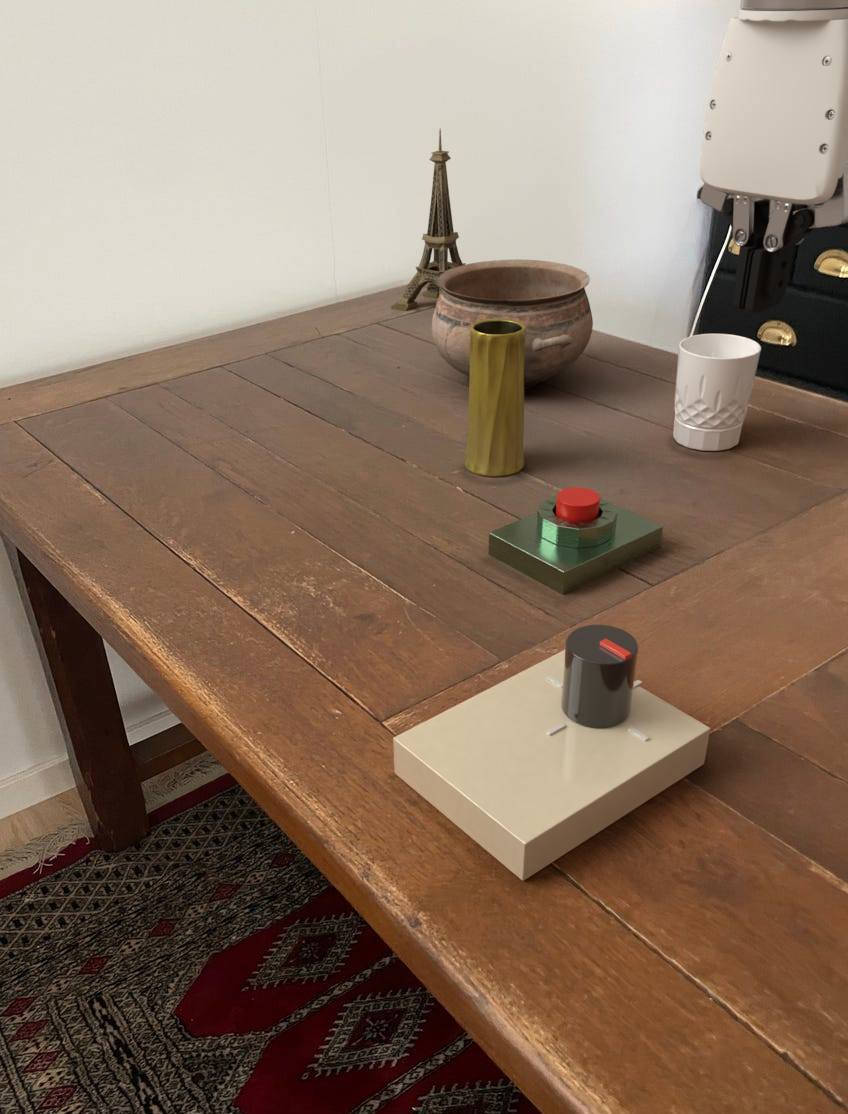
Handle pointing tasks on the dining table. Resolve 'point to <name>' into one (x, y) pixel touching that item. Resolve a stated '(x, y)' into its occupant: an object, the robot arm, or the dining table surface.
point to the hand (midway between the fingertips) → (756, 305)
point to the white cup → (713, 389)
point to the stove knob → (598, 675)
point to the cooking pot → (516, 311)
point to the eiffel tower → (434, 239)
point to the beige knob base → (544, 765)
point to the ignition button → (577, 504)
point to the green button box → (574, 545)
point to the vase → (496, 398)
